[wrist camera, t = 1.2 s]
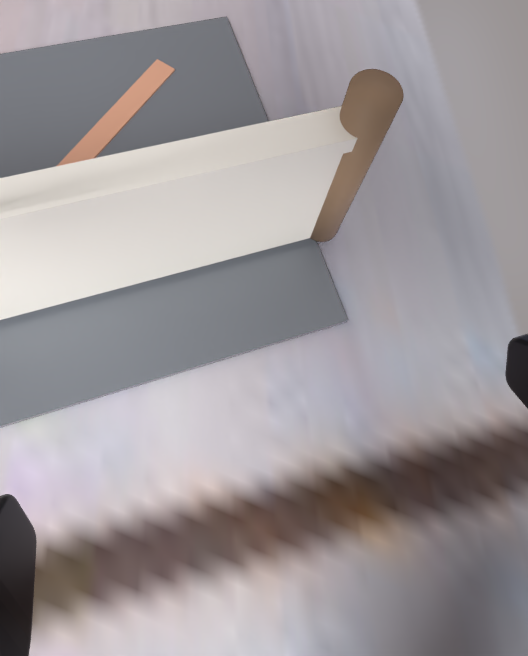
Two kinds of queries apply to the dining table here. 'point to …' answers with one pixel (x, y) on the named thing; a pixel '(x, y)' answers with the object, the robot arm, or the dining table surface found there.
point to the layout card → (162, 293)
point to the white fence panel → (187, 200)
